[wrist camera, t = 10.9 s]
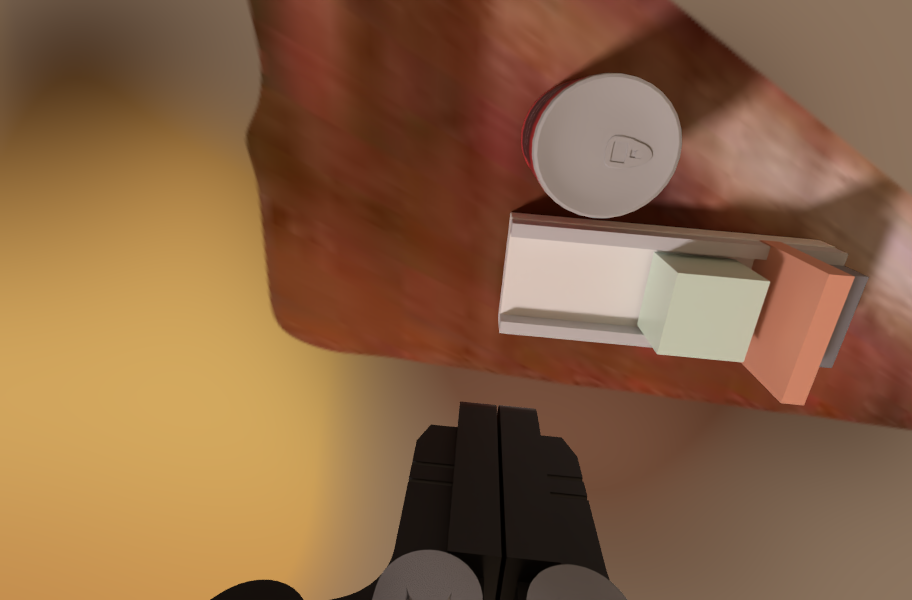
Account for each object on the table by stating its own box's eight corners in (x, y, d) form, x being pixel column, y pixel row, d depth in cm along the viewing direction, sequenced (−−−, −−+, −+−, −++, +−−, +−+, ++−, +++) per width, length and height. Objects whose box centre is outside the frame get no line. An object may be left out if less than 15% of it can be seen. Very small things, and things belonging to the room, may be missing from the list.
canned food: (631, 180, 38) (684, 208, 28) (526, 196, 39) (540, 229, 29) (626, 71, 35) (684, 58, 25) (514, 91, 36) (524, 86, 26)
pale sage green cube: (636, 324, 40) (657, 354, 35) (654, 251, 37) (678, 272, 33) (713, 331, 39) (743, 362, 35) (734, 259, 37) (770, 281, 32)
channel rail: (498, 316, 43) (501, 375, 33) (510, 212, 39) (518, 245, 30) (781, 343, 42) (865, 411, 33) (819, 239, 39) (923, 283, 29)
